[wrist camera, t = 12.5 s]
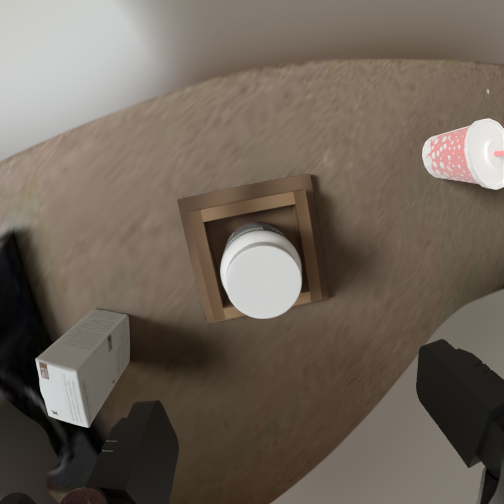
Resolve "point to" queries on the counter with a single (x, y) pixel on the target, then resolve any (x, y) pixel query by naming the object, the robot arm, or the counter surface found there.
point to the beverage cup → (468, 154)
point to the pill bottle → (261, 270)
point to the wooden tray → (245, 211)
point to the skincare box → (84, 366)
